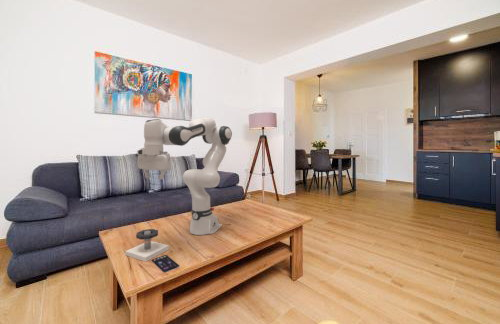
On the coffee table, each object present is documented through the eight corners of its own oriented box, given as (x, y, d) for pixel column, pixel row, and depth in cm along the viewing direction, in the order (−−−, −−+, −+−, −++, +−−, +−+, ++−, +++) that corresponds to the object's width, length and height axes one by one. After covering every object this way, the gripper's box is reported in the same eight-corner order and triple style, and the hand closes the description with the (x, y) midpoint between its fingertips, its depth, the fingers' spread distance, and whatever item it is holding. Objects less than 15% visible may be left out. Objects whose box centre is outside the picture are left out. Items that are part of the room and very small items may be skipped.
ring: (148, 230, 116) (148, 228, 116) (162, 233, 112) (162, 231, 112) (132, 237, 108) (132, 234, 108) (146, 240, 104) (145, 237, 104)
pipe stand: (149, 244, 120) (149, 225, 119) (168, 249, 114) (168, 229, 113) (125, 255, 107) (124, 234, 107) (145, 261, 101) (145, 239, 101)
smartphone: (166, 254, 108) (180, 266, 97) (166, 255, 108) (180, 267, 97) (150, 259, 103) (163, 273, 92) (150, 261, 103) (163, 274, 92)
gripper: (174, 151, 110) (174, 179, 111) (145, 151, 119) (145, 176, 119) (164, 151, 104) (164, 180, 105) (134, 151, 113) (135, 177, 114)
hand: (154, 178), depth 112 cm, fingers open, 8 cm apart
